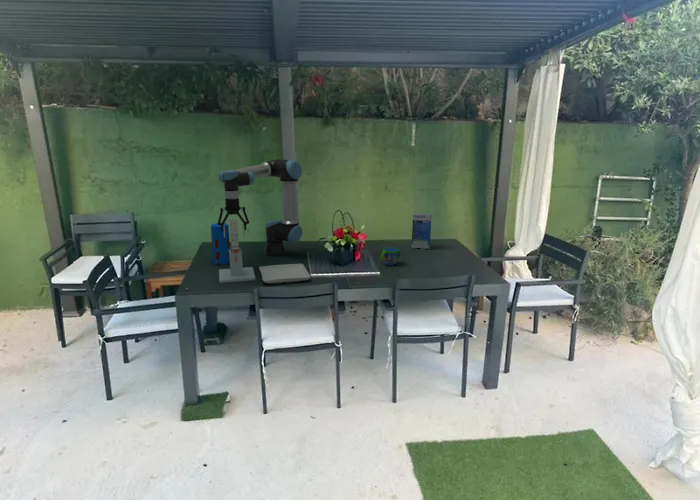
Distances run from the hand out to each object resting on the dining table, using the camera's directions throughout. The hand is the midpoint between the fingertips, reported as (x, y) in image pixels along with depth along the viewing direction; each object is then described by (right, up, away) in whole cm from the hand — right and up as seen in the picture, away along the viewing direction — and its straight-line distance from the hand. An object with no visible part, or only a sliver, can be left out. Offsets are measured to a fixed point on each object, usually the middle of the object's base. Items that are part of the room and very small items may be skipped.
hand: (234, 236), depth 255 cm
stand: (0, -23, +7) cm, 24 cm away
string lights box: (+119, -7, +71) cm, 139 cm away
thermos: (-16, -16, +31) cm, 39 cm away
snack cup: (+93, -17, +32) cm, 100 cm away
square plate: (+28, -24, +7) cm, 38 cm away
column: (0, -16, +5) cm, 17 cm away
